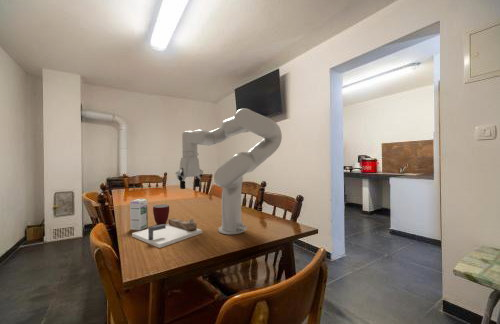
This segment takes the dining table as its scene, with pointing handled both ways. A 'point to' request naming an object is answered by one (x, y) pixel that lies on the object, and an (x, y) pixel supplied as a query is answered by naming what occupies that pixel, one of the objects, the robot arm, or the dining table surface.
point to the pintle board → (166, 235)
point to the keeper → (153, 228)
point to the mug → (161, 213)
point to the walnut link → (183, 224)
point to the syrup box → (138, 214)
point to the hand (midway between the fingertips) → (190, 187)
